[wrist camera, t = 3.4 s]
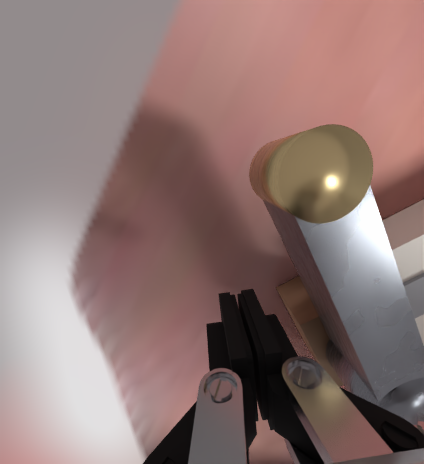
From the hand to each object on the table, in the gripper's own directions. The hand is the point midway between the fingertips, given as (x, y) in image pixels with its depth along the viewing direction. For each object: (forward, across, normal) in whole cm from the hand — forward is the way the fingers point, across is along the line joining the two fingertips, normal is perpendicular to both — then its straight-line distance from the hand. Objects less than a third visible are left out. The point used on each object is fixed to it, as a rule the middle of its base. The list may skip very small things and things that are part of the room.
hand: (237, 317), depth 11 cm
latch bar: (+2, -5, -1) cm, 6 cm away
